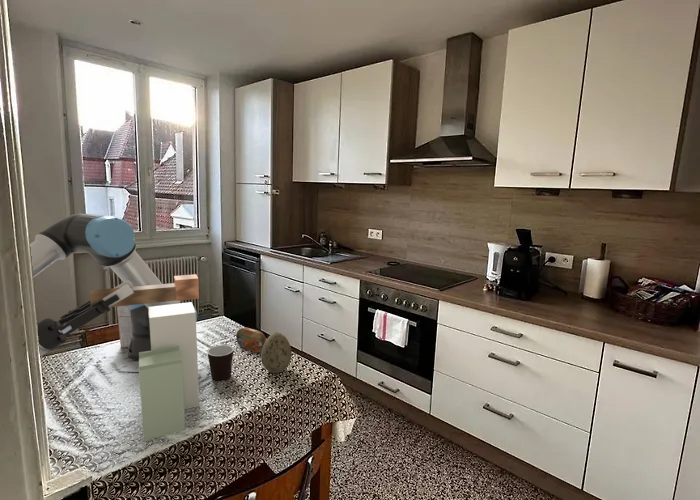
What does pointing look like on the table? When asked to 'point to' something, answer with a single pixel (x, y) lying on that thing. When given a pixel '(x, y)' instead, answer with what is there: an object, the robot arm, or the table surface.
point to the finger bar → (154, 292)
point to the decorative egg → (276, 353)
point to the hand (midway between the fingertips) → (130, 286)
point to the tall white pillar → (178, 342)
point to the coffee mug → (220, 362)
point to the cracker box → (124, 325)
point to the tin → (250, 339)
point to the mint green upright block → (161, 392)
